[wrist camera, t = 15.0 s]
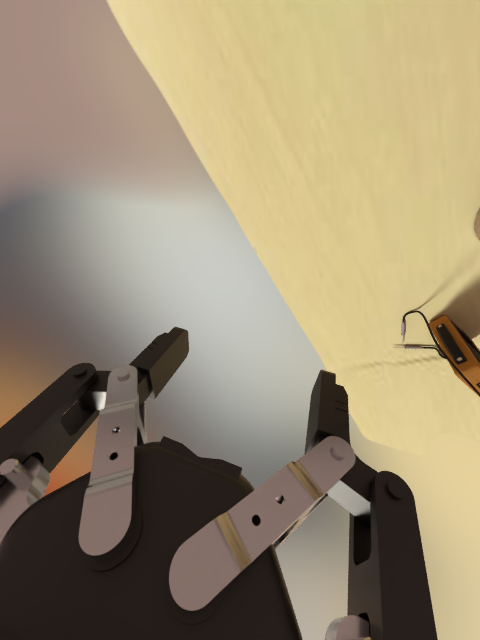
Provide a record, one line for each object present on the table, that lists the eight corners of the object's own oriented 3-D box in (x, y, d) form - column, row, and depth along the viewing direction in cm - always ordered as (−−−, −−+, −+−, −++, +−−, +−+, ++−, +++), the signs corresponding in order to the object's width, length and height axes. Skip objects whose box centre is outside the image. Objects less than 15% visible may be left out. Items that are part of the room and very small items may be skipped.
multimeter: (375, 331, 46) (394, 421, 30) (429, 298, 40) (488, 391, 24) (427, 377, 48) (470, 485, 32) (486, 352, 42) (576, 471, 26)
